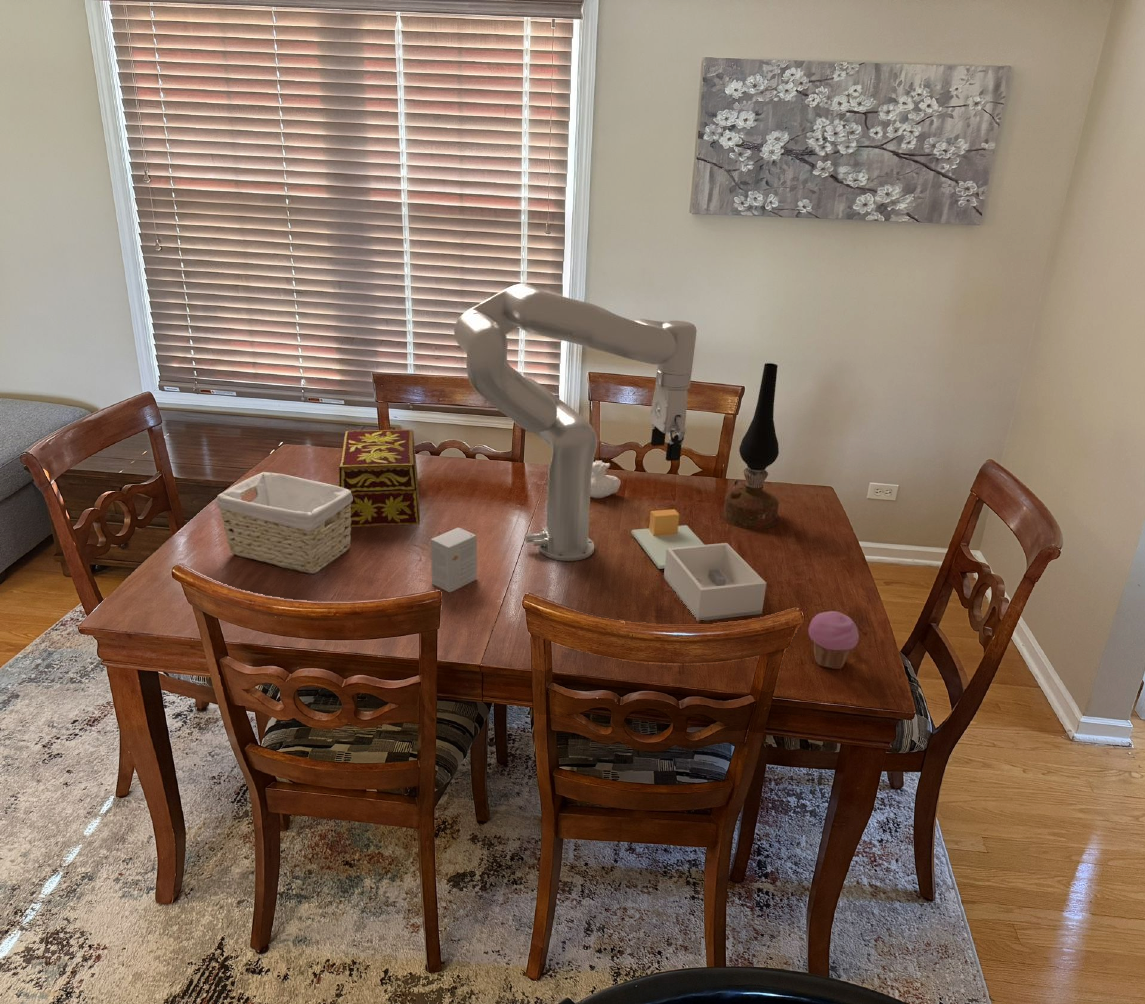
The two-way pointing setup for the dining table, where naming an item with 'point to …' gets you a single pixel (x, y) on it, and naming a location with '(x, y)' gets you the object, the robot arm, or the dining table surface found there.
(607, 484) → the duck figurine
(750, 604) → the tub
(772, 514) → the oil lamp
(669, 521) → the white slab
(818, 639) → the cupcake
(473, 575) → the small box
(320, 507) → the storage basket
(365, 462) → the decorative box
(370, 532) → the dining table surface
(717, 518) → the dining table surface
